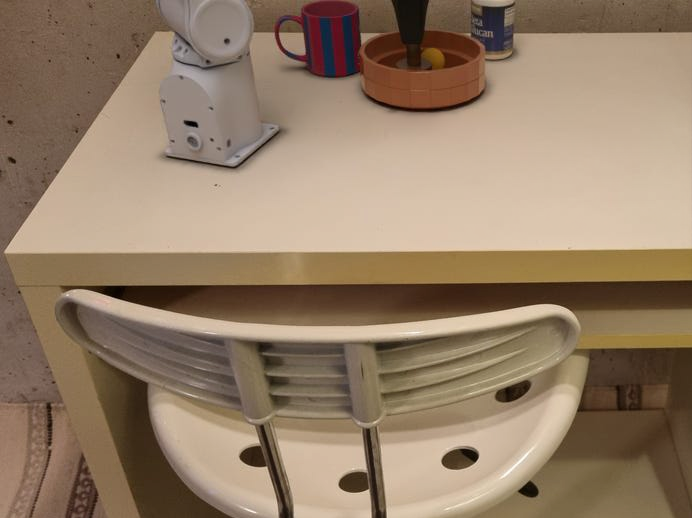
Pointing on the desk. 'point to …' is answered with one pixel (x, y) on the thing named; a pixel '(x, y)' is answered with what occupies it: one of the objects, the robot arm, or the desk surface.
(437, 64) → the ball
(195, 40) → the robot arm
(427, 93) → the bowl
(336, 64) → the mug
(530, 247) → the desk surface
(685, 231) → the desk surface
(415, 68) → the stick
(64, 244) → the desk surface
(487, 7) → the pill bottle
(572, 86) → the desk surface
